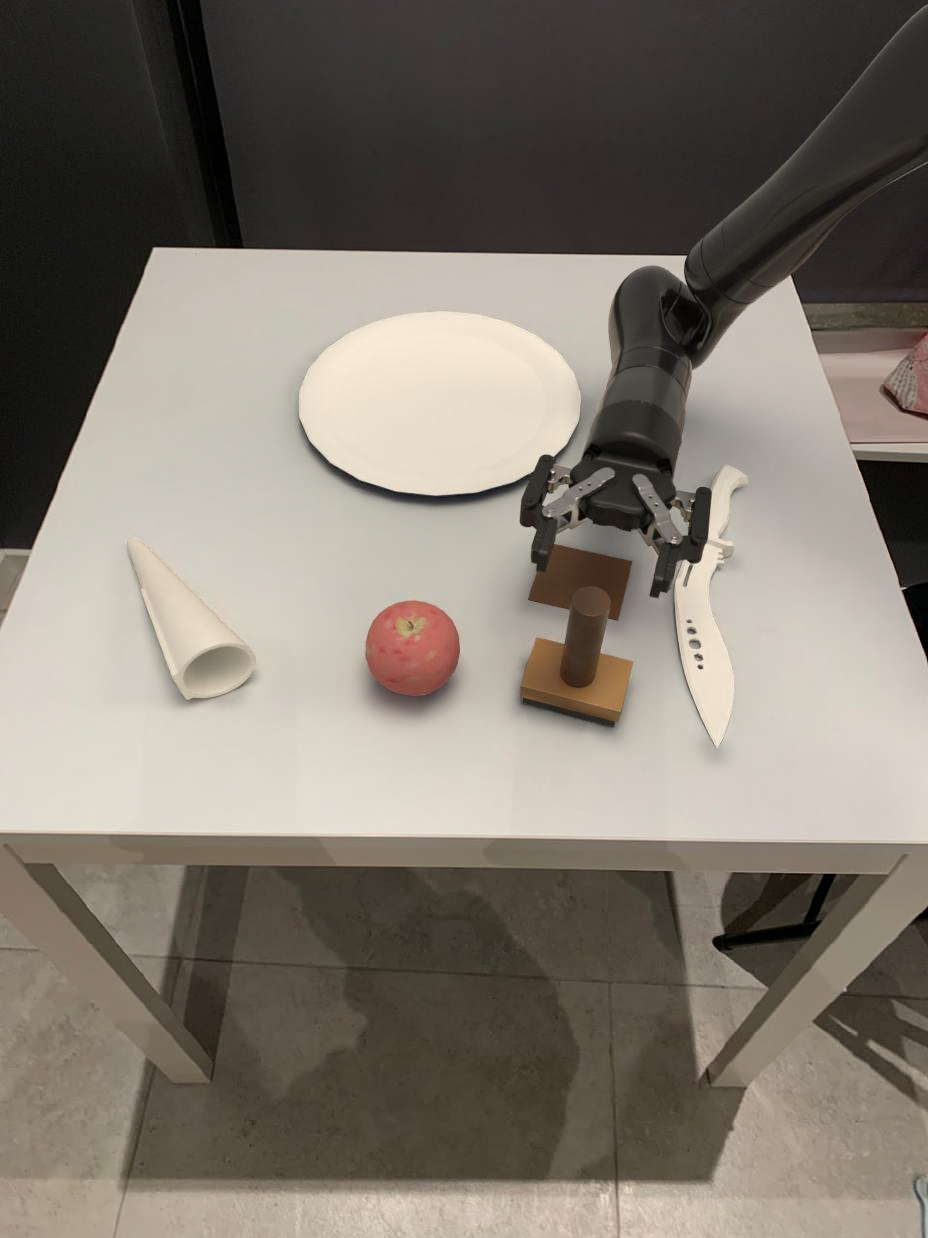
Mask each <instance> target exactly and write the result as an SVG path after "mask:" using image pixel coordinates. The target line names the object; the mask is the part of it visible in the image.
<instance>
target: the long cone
mask: <svg viewBox="0 0 928 1238" xmlns="http://www.w3.org/2000/svg"><path fill="white" fill-rule="evenodd" d="M127 550H128V554H129V557H130V560H131V561H132V564H133V568H134V571H135V574H136V576H137V579H138V581H139V583H140V586H141V589H140V593H141V595H142V598H143V601H144V603H145V605H146V609H147V612H148V614H149V617H150V620H151V623H152V625H153V628H154V631H155V634H156V637H157V639H158V642H159V644H160V648H161V650H162V654H163V657H164V660H165V662H166V665H167V667H168V668H167V669H168V670H169V673H170V676H171V678H172V680H173V682H174V684H175V685H176V687H177V689H178V690H179V691H180V693H181V695H182V696H183V698H184V699H185V700H186V701H189V700H191V699H210V698H215V697H219V696H222V695H225V694H228V693H230V692H232V691H234V690H235V689H238V687H240V686H241V685H242V684H244V683H245V682H246V681H247V680H248V679H249V678H250V677H251V676H252V674H253V672H254V671H255V668H256V664H257V657H256V654H255V652H254V650H253V649H252V648H251V647H250V646H249V645H248V644H247V643H246V642H245V641H244V640H243V639H242V638H241V637H240V636H239V635H238V634H237V633H236V632H235V631H234V630H233V629H232V628H231V627H230V626H229V625H227V623H226V622H224V620H223V619H221V618H220V616H219V615H218V614H216V612H215V611H214V610H213V609H212V608H211V607H209V605H208V604H206V602H205V601H203V599H202V598H200V596H199V595H198V594H197V593H196V592H194V591H193V589H191V587H190V586H189V585H187V583H185V581H183V580H182V579H181V578H180V577H179V576H178V574H177V573H175V572H174V570H173V569H171V567H170V566H168V565H167V563H166V562H165V561H164V560H163V559H162V558H161V557H159V556H158V555H157V553H155V551H153V550H152V549H151V548H150V546H148V545H147V544H146V543H145V542H144V541H142V540H141V539H139V538H138V537H136V536H131V537H129V538H128V540H127Z"/></svg>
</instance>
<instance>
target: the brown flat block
mask: <svg viewBox="0 0 928 1238" xmlns="http://www.w3.org/2000/svg"><path fill="white" fill-rule="evenodd" d="M632 565H633V560H630V559H625V558H621V557H616V556H612V555H607V554H603V553H598V552H593V551H589V550H584V549H580V548H575V547H570V546H567V545H561V544H557V543H554V546H553V550H552V553H551V556H550V559H549V563H548V566H547V569H546V572H545V573H544V572H539V571H536V573H535V576H534V579H533V583H532V586H531V588H530V591H529V595H528V598H527V599H528V601H530V602H531V601H532V602H536V603H540V604H545V605H550V606H554V607H557V608H561V609H566V610H570V606H571V599H572V596H573V594H574V592H575V591H576V590H578V589H579V588H581V587H585V586H595V587H598V588H601V589H602V590H604V591H605V592H606V593H607V594H608V595H609V597H610V600H611V606H610V611H609V615H608V620H609V619H610V620H615V621H619V619H620V615H621V610H622V607H623V603H624V597H625V594H626V589H627V586H628V581H629V577H630V573H631V569H632Z"/></svg>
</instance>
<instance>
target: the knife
mask: <svg viewBox="0 0 928 1238" xmlns="http://www.w3.org/2000/svg"><path fill="white" fill-rule="evenodd" d="M748 484H749V479H748V476H747V475H746V474H744V472H742V471H740V470H738V469H737V468H735V467H733V466H731V465H729V464H724V465H723V466H722V467H720V469H719V470H718V472H717V474H716V475H715V478H714V479H713V481H712V483H711V486H710V488H709V489H710V490H711V491H712V498H711V510H710V521H709V533H708V540H707V543H706V545H705V547H704V550H703V555H702V558H701V561H700V562H699V563H697V564H692V563H689V562H688V561H687V560H682V564H681V567H680V569H679V571H678V574H677V577H676V580H675V582H674V586H673V590H674V593H673V600H674V612H675V625H676V633H677V639H678V640H677V641H678V646H679V655H680V658H681V665H682V668H683V671H684V675H685V678H686V679H685V680H686V682H687V686H688V687H689V691H690V693H691V697H692V699H693V701H694V704H695V706H696V708H697V711H698V713H699V715H700V718H701V720H702V722H703V724H704V727H705V728H706V731H707V733H708V735H709V737H710V738H711V740H712V742H713V744H714V746H715V747H716V749H719V746H720V744H721V743H722V741H723V738H724V736H725V735H726V731H727V728H728V725H729V722H730V720H731V716H732V710H733V705H734V700H735V689H736V688H735V686H736V685H735V675H734V671H733V666H732V662H731V658H730V655H729V652H728V648H727V646H726V643H725V641H724V639H723V636H722V632H721V631H720V628H719V626H718V624H717V622H716V619H715V617H714V613H713V610H712V606H711V604H710V593H709V590H710V584H711V579H712V576H713V573H714V572H715V570H716V569H717V567H718V566H720V567H721V566H722V567H723V566H724V565H725V560H724V558H728V557H731V556H732V555H733V554H734V552H735V545H734V542H733V541H731V540H730V541H729V540H725V539H723V538H720V537H721V536H722V534H723V533H724V531H725V530H726V528H727V526H728V524H729V520H730V516H731V497H732V494H733V492H734V491H735V489H739V488H742V487H743V488H744V487H745V486H747V485H748ZM690 566H691V567H692V568H691V571H690V573H689V576H688V580H687V583H686V586H684V582H685V579H686V576H687V573H688V570H689V568H690ZM690 629H691V630H693V631H694V632H695V633H694V634H691V633H689V632H688V630H690ZM692 641H693V642H697V643H698V644H699V645H700V648H697V649H696V648H692V647H691V645H690V642H692ZM695 656H699V657H700V658H701V660H700V661H698V660H697V659H696V658H695ZM699 667H701V669H700V668H699Z"/></svg>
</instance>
